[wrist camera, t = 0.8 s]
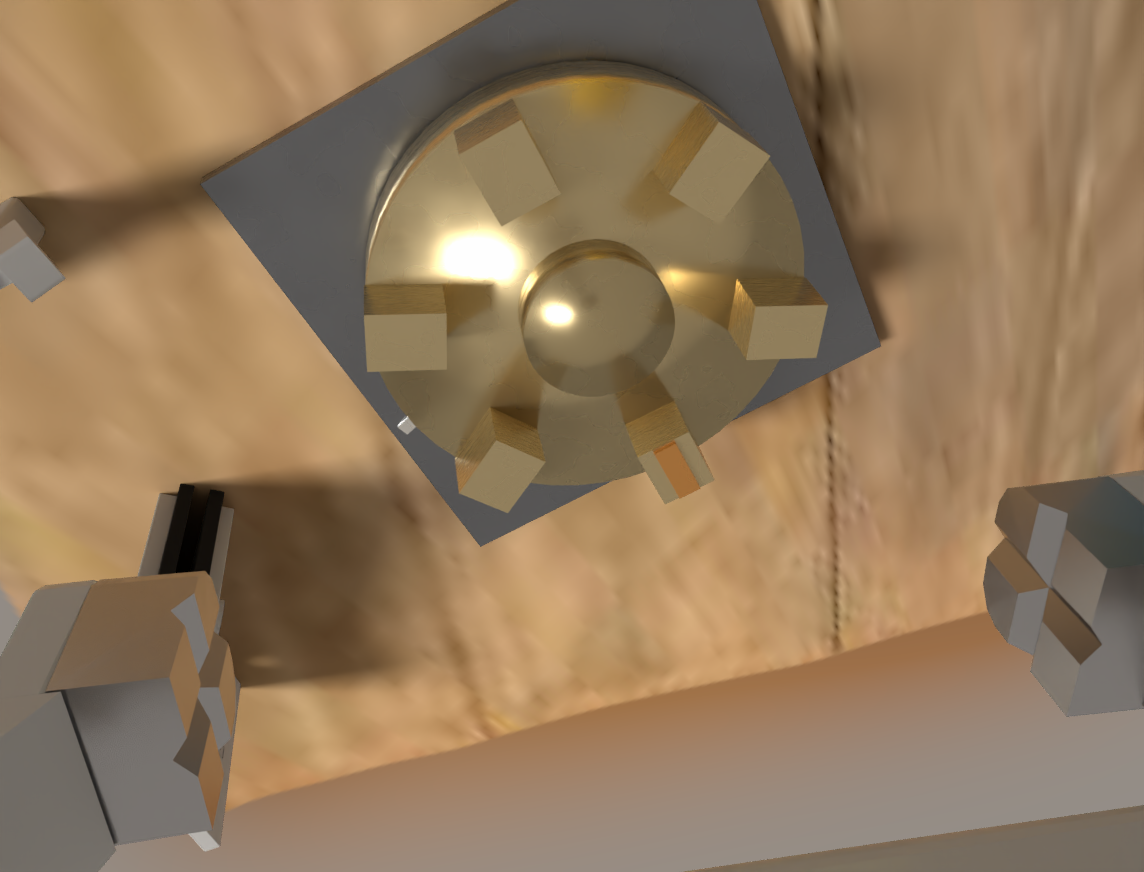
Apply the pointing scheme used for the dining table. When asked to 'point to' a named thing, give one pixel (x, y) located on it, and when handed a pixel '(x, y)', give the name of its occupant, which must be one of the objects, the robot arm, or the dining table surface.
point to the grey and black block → (207, 558)
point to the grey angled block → (24, 252)
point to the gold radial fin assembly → (583, 280)
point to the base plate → (447, 75)
